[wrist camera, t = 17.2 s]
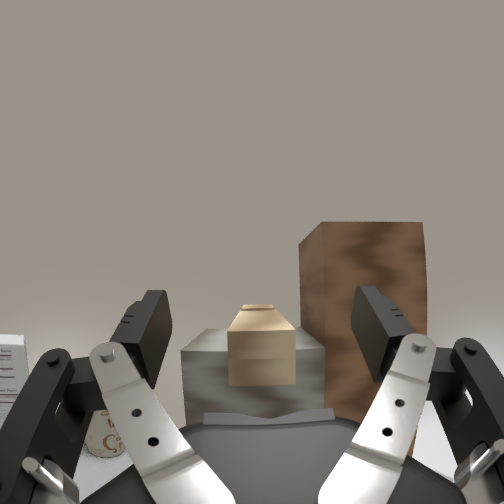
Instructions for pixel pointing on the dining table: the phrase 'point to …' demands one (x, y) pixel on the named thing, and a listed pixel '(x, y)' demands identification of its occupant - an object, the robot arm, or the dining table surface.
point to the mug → (103, 436)
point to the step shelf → (321, 326)
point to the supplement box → (11, 371)
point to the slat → (261, 348)
